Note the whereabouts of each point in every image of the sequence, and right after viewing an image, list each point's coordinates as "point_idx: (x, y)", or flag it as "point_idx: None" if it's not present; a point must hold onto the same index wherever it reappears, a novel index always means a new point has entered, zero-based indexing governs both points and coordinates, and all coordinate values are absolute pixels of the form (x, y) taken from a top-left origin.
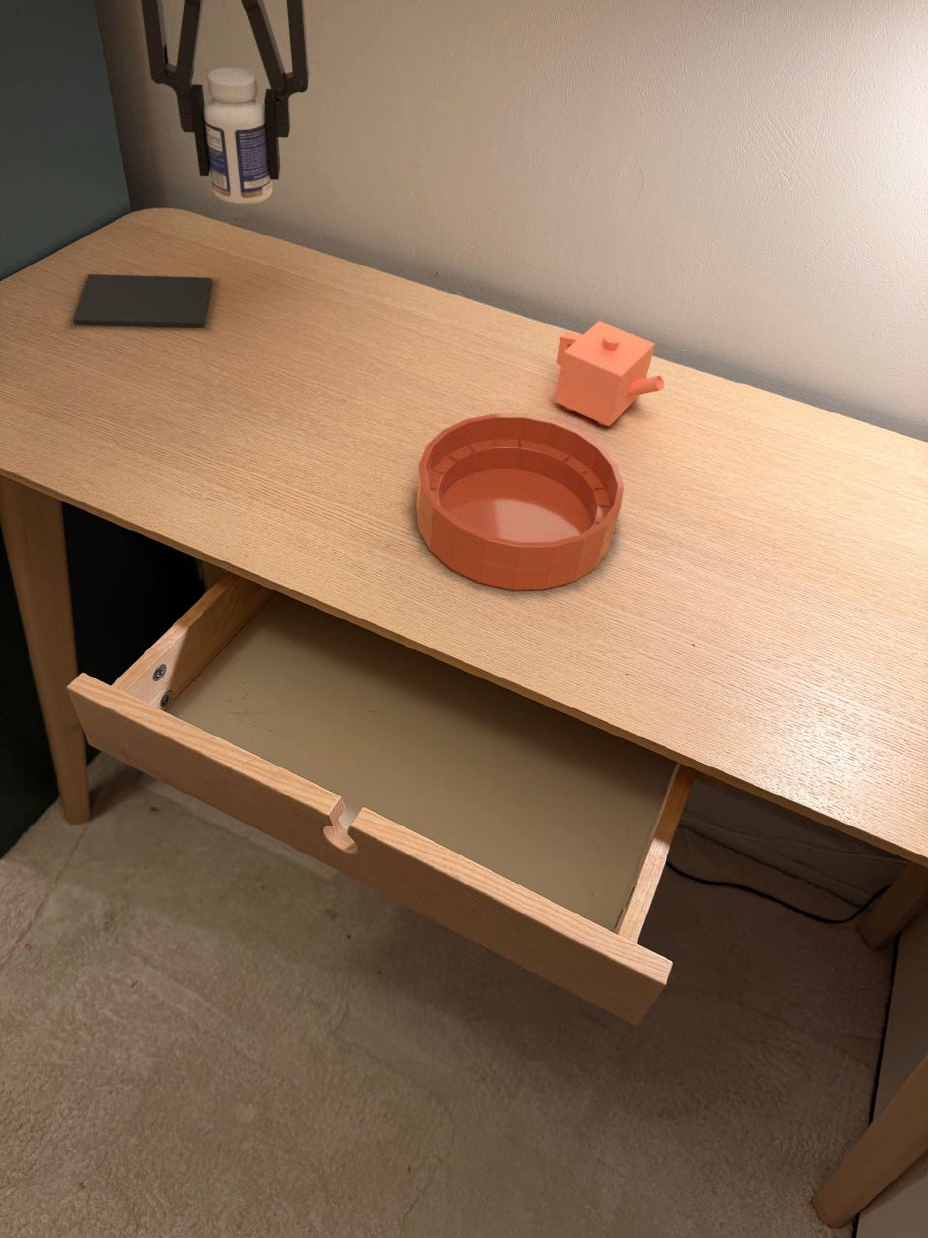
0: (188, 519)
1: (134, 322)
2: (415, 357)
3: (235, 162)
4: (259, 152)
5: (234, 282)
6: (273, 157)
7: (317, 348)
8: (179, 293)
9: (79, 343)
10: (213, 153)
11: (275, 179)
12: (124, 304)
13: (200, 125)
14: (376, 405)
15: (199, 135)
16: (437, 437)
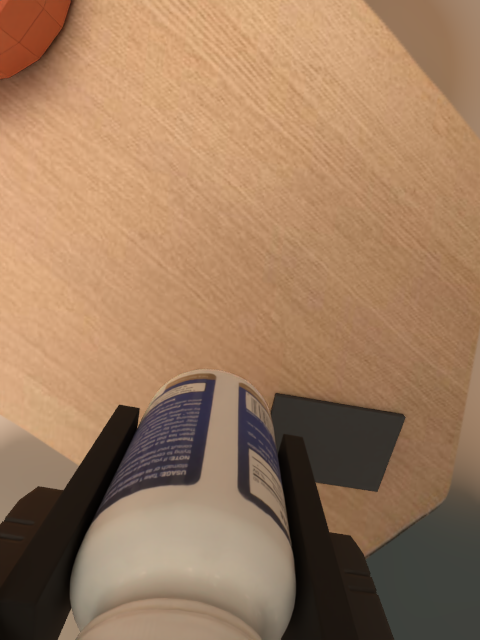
0: (344, 33)
1: (345, 406)
2: (51, 307)
3: (216, 418)
4: (141, 444)
5: None
6: (108, 438)
7: (160, 339)
8: None
9: (403, 381)
10: (272, 458)
11: (127, 406)
12: (351, 437)
13: (309, 536)
14: (105, 220)
15: (310, 511)
16: (2, 2)
